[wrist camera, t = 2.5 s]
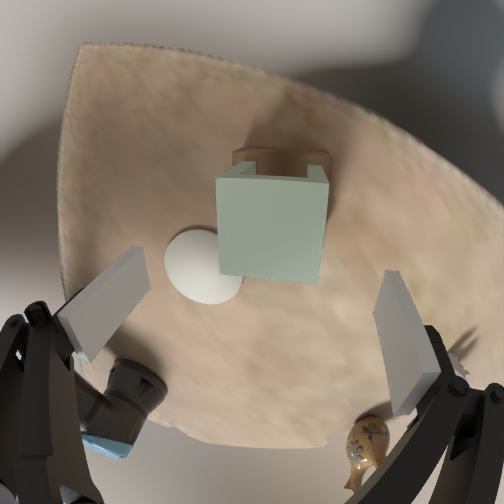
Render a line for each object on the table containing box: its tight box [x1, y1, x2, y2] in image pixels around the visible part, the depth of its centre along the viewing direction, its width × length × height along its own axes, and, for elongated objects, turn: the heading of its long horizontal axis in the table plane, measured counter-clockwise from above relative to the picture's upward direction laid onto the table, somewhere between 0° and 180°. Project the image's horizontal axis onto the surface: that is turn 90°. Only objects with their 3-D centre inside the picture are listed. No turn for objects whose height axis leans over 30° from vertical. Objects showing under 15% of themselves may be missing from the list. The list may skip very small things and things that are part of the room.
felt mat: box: [164, 229, 243, 304], centre depth 39 cm, size 12×12×1 cm
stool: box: [215, 161, 329, 284], centre depth 24 cm, size 8×8×9 cm
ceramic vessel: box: [344, 416, 390, 494], centre depth 41 cm, size 16×9×25 cm, turn 162°
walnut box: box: [233, 148, 332, 246], centre depth 30 cm, size 10×10×5 cm
